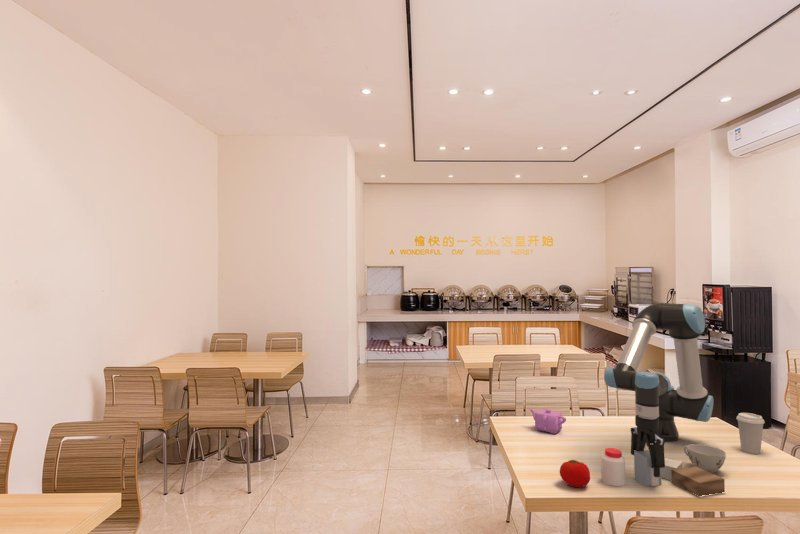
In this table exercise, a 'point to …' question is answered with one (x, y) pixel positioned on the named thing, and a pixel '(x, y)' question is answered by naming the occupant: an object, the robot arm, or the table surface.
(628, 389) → the robot arm
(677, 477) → the walnut block
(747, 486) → the table surface
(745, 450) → the coffee cup
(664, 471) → the grey block
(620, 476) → the pill bottle
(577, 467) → the tomato
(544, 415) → the teapot
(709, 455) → the teacup
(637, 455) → the slate block
